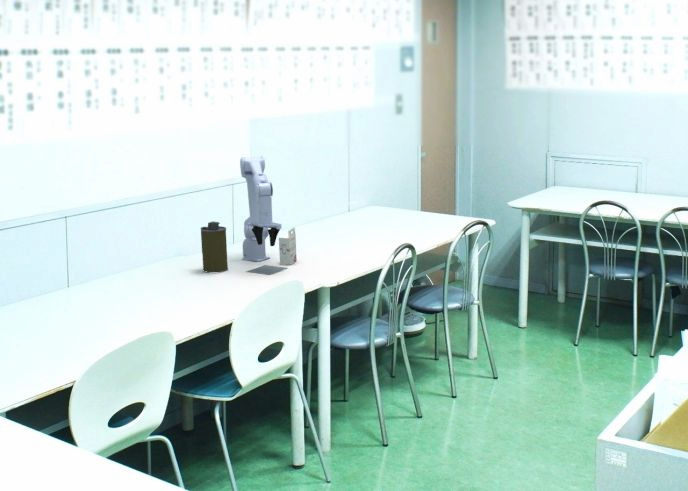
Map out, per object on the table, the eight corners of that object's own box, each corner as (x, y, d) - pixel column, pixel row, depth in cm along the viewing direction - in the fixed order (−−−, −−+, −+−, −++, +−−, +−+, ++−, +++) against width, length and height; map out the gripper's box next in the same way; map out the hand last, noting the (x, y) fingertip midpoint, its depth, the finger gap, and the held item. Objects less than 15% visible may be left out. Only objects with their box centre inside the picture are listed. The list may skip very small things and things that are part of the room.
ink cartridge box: (285, 260, 422) (284, 226, 419) (296, 260, 421) (295, 226, 418) (279, 264, 414) (277, 230, 411) (290, 265, 412) (289, 230, 409)
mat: (246, 272, 402) (246, 271, 402) (264, 266, 413) (264, 265, 413) (270, 275, 396) (270, 274, 396) (288, 269, 407) (288, 267, 407)
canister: (233, 268, 409) (230, 220, 405) (218, 273, 400) (216, 225, 396) (211, 266, 414) (209, 219, 410) (196, 271, 406) (194, 223, 401)
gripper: (244, 212, 400) (246, 245, 403) (273, 215, 393) (275, 248, 396) (255, 209, 406) (256, 242, 409) (284, 212, 399) (285, 245, 401)
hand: (266, 245), depth 403 cm, fingers open, 6 cm apart
